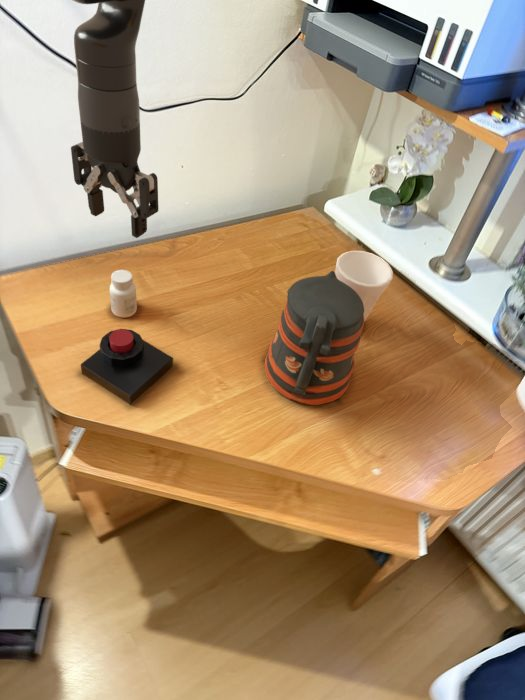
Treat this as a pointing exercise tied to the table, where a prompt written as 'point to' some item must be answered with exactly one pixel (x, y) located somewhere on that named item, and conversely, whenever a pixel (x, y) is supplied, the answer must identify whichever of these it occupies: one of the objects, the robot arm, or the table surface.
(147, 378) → the push button housing
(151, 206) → the robot arm
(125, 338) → the lid button
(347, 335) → the beer stein
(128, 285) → the pill bottle
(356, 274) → the cup
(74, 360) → the table surface
